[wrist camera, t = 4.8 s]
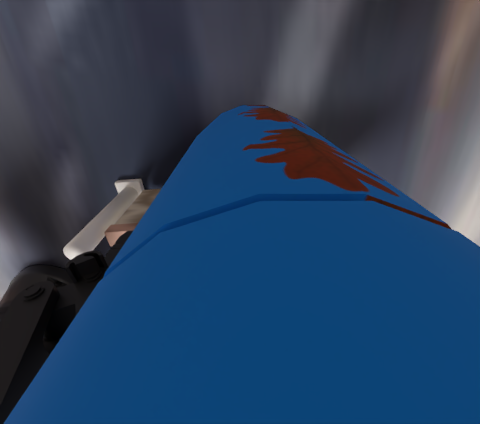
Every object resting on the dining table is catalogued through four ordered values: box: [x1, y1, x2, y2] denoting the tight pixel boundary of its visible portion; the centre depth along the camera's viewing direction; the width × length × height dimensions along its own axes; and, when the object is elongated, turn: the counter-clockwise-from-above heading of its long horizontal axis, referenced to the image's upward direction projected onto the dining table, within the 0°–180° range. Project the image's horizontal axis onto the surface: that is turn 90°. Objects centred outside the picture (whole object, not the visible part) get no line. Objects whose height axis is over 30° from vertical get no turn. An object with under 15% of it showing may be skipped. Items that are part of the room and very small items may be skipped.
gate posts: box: [63, 179, 145, 260], centre depth 32 cm, size 32×4×16 cm, turn 95°
